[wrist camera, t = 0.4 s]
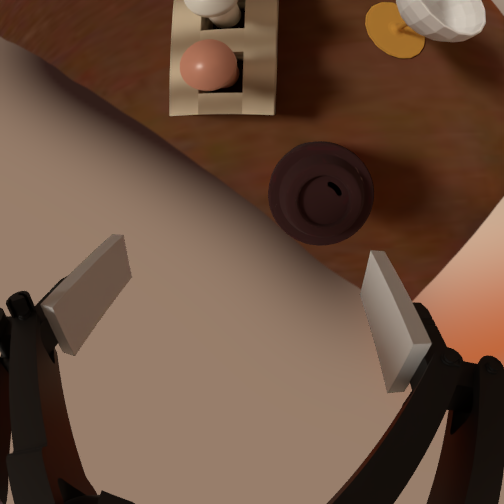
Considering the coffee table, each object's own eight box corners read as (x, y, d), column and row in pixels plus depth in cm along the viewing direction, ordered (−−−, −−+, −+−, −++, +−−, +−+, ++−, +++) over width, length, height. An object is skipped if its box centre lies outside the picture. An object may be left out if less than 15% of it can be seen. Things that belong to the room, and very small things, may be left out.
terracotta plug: (203, 55, 29) (180, 41, 21) (246, 53, 28) (235, 37, 21) (202, 95, 31) (179, 91, 24) (245, 94, 31) (234, 89, 23)
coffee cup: (283, 210, 41) (281, 262, 28) (265, 141, 37) (253, 159, 24) (352, 196, 39) (384, 242, 26) (338, 126, 35) (369, 135, 21)
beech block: (189, -2, 28) (175, -16, 22) (278, -6, 27) (277, -24, 21) (185, 114, 36) (169, 116, 31) (275, 114, 35) (273, 115, 30)
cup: (383, 65, 30) (439, 44, 16) (353, 8, 26) (389, -41, 12) (434, 52, 27) (501, 36, 13) (406, -2, 24) (458, -41, 10)
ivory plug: (206, 0, 25) (185, -24, 18) (248, -3, 25) (238, -30, 17) (203, 35, 27) (181, 17, 20) (247, 33, 27) (236, 12, 20)
